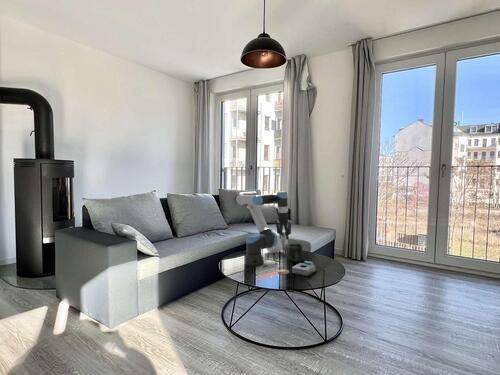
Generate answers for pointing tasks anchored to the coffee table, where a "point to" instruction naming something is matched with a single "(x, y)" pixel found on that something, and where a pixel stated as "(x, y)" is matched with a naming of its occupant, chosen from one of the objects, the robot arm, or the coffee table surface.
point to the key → (283, 241)
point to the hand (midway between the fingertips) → (284, 243)
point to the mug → (295, 252)
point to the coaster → (283, 271)
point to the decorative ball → (278, 245)
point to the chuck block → (304, 268)
